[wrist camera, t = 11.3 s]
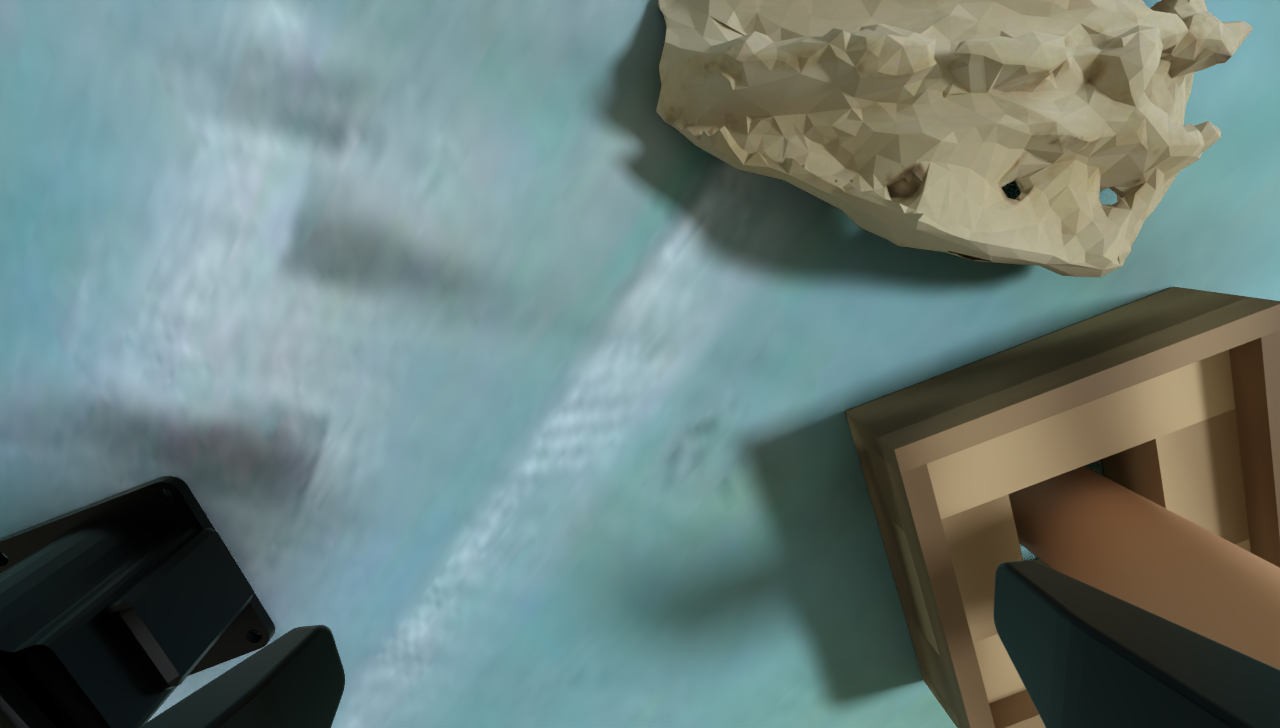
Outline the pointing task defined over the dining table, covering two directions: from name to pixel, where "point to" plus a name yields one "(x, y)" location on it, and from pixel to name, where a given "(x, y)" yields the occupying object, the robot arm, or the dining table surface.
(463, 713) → the dining table surface
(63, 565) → the robot arm
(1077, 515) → the peg
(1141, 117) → the coral
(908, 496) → the tray box
